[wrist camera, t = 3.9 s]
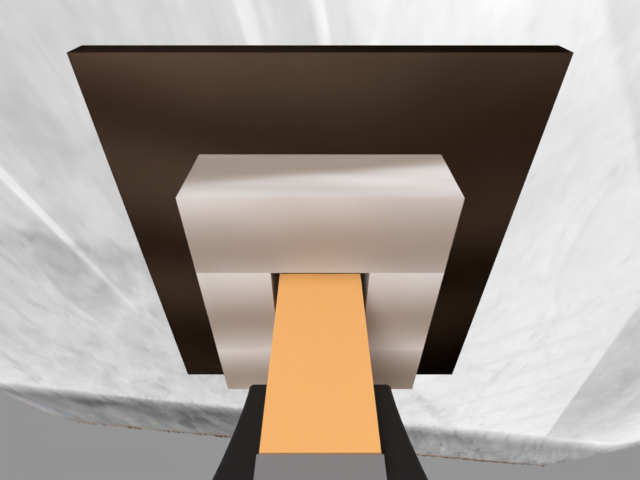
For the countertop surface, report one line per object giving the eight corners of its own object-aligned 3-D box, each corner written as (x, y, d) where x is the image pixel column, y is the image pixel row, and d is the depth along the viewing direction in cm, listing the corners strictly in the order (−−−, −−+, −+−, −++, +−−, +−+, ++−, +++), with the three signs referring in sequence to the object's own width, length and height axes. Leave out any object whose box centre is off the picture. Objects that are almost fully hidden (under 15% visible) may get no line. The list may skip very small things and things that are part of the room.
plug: (278, 272, 14) (253, 481, 9) (361, 272, 14) (386, 481, 9) (284, 340, 17) (268, 535, 12) (355, 340, 17) (372, 535, 12)
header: (81, 45, 13) (6, 81, 10) (558, 45, 13) (634, 81, 10) (192, 360, 24) (173, 423, 21) (448, 360, 24) (466, 423, 21)
